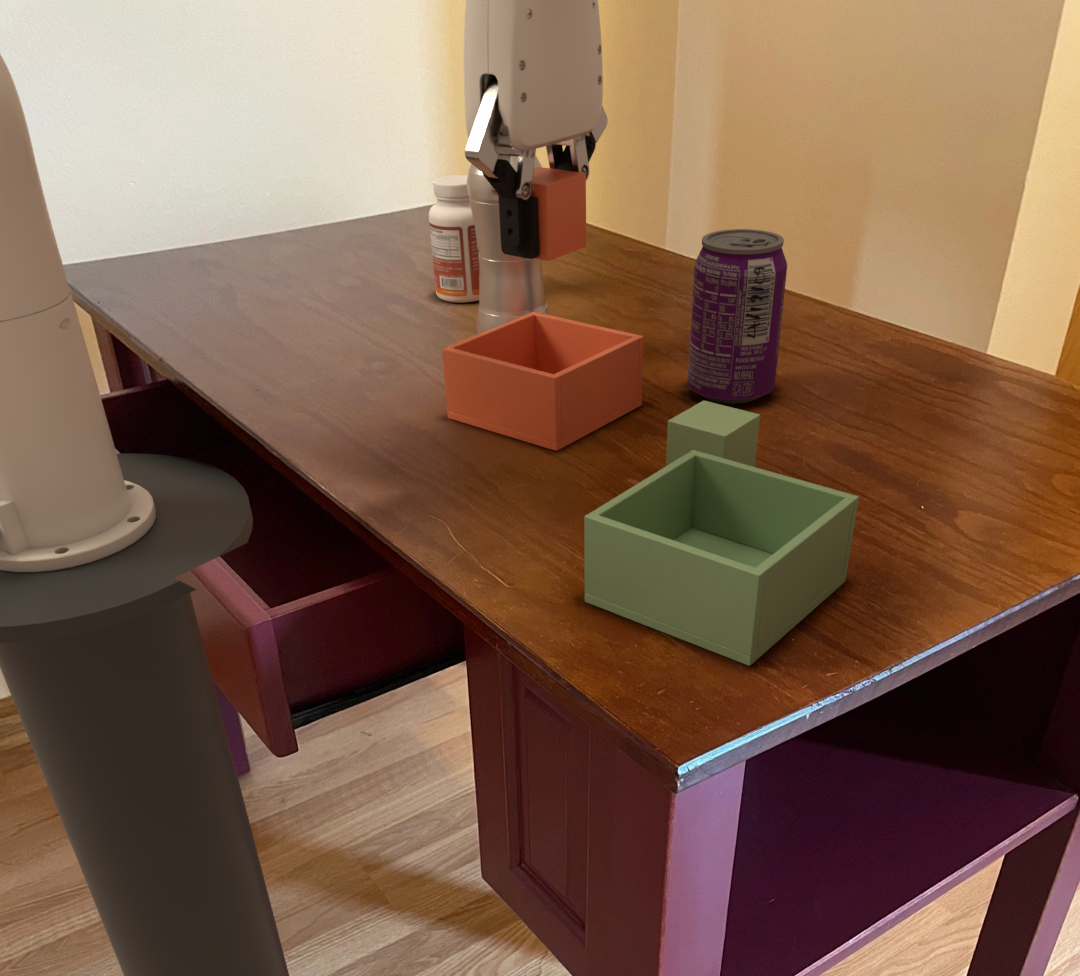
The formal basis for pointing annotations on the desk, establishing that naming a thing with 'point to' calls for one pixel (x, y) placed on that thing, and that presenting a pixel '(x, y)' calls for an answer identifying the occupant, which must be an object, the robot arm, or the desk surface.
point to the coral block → (560, 211)
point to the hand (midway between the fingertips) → (543, 244)
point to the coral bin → (544, 378)
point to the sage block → (714, 433)
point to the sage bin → (718, 553)
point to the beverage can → (736, 315)
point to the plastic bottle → (501, 262)
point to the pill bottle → (454, 241)
